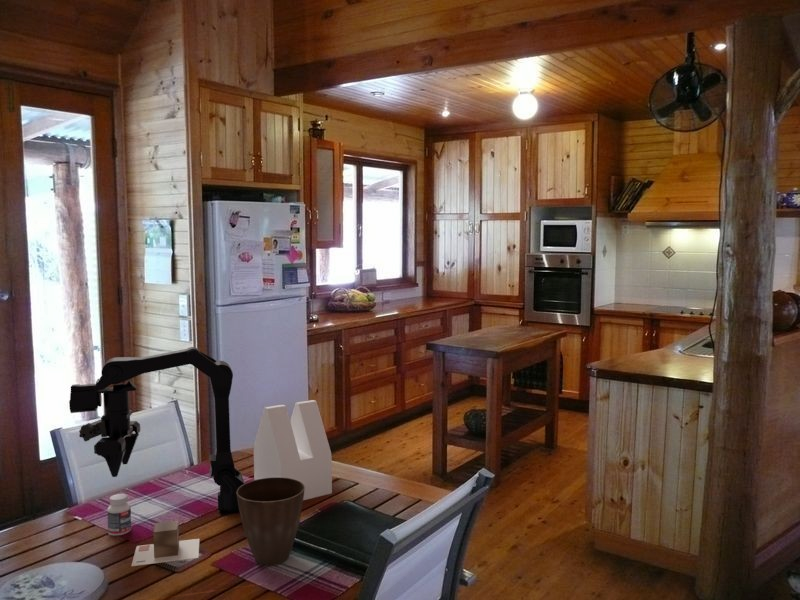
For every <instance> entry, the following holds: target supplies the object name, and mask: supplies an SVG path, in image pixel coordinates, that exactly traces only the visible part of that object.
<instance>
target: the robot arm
mask: <svg viewBox="0 0 800 600" xmlns="http://www.w3.org/2000/svg"><path fill="white" fill-rule="evenodd" d="M188 365H191V366H193V367H195V368H196V369H197V370H198V371H200V372H201V373H203V374H204V375H206V376H207V377H209V381H210V385H211V390H212V395H213V403H214V404H213V405H214V407H213V408H214V409H213V410H214V436H215V438H214V439H215V448H214V449H215V450H214V453H213V454H209V455H208V456H209V457H208V458H209V463H210V466H209V474H210V475H209V476H210V478H213V481H214V483H215V484H216V485H218V486H219V491H218V492H217V511H219V515H220V516H226V515H236V514H240V511H239V505H238V499H237V493H236V492H237V489H238V488H239V487H240V486H242V485H243V484H245V481H244V478H243V474H242V473H241V471H239V470H238V469H237V468H235V464H234V463H235V461H234V458H233V454H232V449H231V448H232V447H231V426H230V425H231V424H230V422H231V421H230V395H231V392H232V391H231V390H232V385H233V378H234V376H233V375H234V373H233V370H232V368H231V366H230V364H229V363H227V361H224V360H216V359H215V358H213V357H211V356H209V355H208V354H207V353H206V354H205V353H204V352H202V351H201V350H200V349H198V348H197V347H195V346H190V347H188V348H185V349H180V350H178V349H177V350H173V351H169V352H162V353H158V354H153V355H152V354H151V355H148V356H141V357H138V356H137V357H134V356H132V357H131V356H122V357H121V356H118V357H112V358H110V359H108V360H107V361H106V362H105V363H104V365H103V367H102V369H101V376H100V377H99V378H97V380H96V381H95V383H88V384H78V383H77V384H71V386H70V393H69V394H70V395H69V401H68V403H69V405H68V406H69V412H70V414H76V413H77V414H78V413H87V412H96V411H97V410H98V409H99V408H101V407H102V402H103V407H104V414H103V415H101V417H100V419H98V420H96V421H93V422H88V423H86V424H83V425H82V426H80V429H79V431H78V432H79V435H78V436H79V438H81V439H83V441H84V442H88V441H90V440H91V439H94V438H96V437H99V436H101V438H100V439H99V440H98V441H97V442H96V443H95V444H94V445H93V450H94V451H93V453H94V454H95V455H97V456H100V457H102V458H103V459H105V462H106V464H107V467H108V469H109V472H110V474H111V477H112V478H116V477H118V475H119V472H120V469H121V466H122V465H128V463H129V460H130V458H131V455H132V452H133V450H134V448H135V445H136V442H137V440H138V437H139V436H140V432H141V424H140V423H139V422H138V421H137V420H131V416H132V415H133V410H132V409H130V394H129V393H130V392H132V391H133V392H134V391H136V390H137V386H138V385H136V384H135V383H133V382H132V380H131V379H134V378H136V377H138V376H140V375H144V374H147V373H152V372H157V371H161V370H162V371H163V370H167V369H168V370H169V369H171V368H172V369H173V368H177V367H182V366H188ZM126 381H127V382H126ZM123 382H125V383H123ZM111 385H113V386H112V387H109V386H111ZM102 394H103V398H102ZM102 399H103V400H102Z"/></svg>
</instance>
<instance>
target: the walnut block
mask: <svg viewBox="0 0 800 600" xmlns="http://www.w3.org/2000/svg"><path fill="white" fill-rule="evenodd" d="M179 534H180V530H179V520H171V521H162V522H161V521H160V522H155V524H154V527H153V535H152V536H153V544H154V558H160V557H168V556H176V555H178V550H179V541H180V537H179V536H180V535H179Z"/></svg>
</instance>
